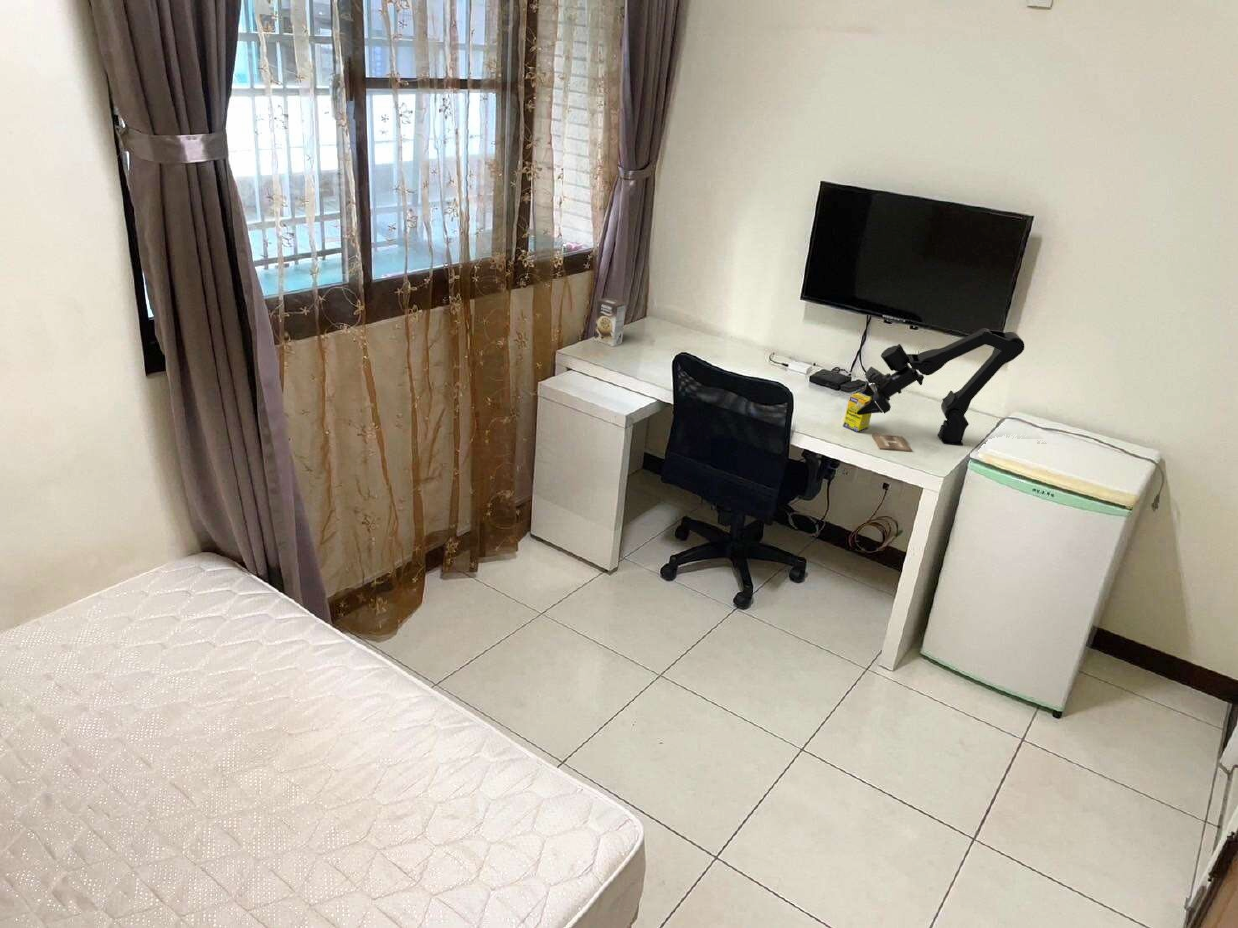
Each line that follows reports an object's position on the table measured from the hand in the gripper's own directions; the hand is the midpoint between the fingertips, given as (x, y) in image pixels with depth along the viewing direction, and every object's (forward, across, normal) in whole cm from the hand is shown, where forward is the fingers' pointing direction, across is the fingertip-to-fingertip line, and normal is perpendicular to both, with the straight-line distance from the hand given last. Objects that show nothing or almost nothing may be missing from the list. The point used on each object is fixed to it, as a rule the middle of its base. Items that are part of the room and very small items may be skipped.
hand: (855, 408), depth 285 cm
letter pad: (-3, +9, +13) cm, 16 cm away
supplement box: (+4, 0, +6) cm, 7 cm away
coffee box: (+67, -51, -56) cm, 101 cm away
